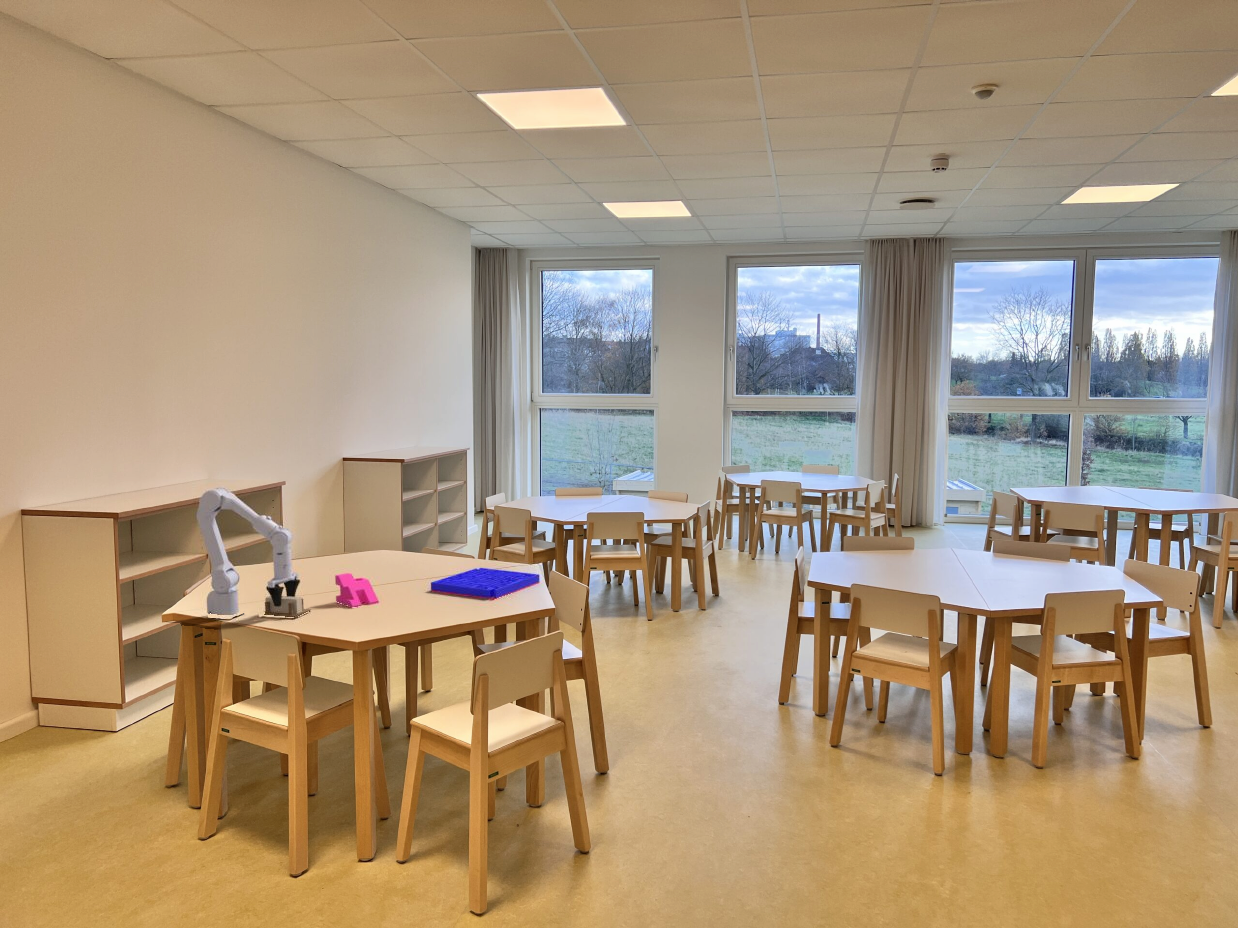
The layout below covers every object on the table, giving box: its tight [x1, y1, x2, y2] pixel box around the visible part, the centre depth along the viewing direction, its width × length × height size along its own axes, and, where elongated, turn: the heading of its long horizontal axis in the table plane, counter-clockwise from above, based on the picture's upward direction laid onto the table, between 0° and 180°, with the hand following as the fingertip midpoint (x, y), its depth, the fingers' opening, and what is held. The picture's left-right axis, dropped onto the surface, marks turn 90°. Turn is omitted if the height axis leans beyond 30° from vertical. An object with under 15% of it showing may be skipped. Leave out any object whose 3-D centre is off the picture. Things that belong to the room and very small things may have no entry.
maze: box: [430, 567, 540, 600], centre depth 324 cm, size 30×30×4 cm
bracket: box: [334, 572, 380, 608], centre depth 301 cm, size 12×10×10 cm
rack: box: [264, 598, 311, 619], centre depth 286 cm, size 14×9×5 cm, turn 78°
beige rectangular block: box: [265, 595, 303, 614], centre depth 286 cm, size 12×3×5 cm, turn 78°
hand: (284, 603), depth 285 cm, fingers open, 7 cm apart
